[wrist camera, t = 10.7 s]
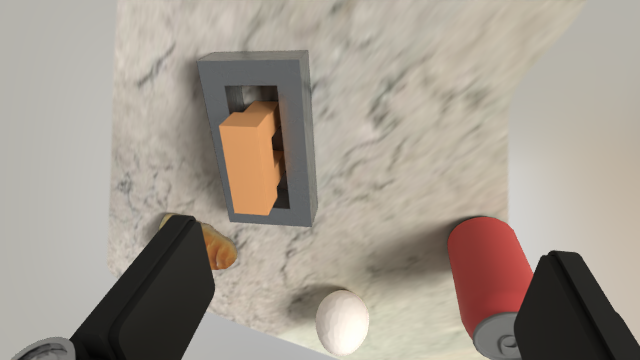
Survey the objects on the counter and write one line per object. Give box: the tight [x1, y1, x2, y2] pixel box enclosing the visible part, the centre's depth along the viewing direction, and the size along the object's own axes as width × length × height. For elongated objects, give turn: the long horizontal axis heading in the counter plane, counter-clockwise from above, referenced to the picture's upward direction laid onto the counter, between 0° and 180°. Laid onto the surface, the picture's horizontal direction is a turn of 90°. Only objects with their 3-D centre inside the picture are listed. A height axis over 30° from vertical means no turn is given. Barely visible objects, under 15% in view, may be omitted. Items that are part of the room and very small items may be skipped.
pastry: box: [158, 213, 237, 270], centre depth 43 cm, size 9×7×4 cm
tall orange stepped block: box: [219, 101, 286, 215], centre depth 33 cm, size 8×3×8 cm, turn 2°
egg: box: [316, 290, 369, 356], centre depth 42 cm, size 6×6×8 cm
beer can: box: [447, 217, 534, 360], centre depth 33 cm, size 7×7×12 cm
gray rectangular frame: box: [197, 50, 318, 227], centre depth 35 cm, size 16×8×4 cm, turn 3°
